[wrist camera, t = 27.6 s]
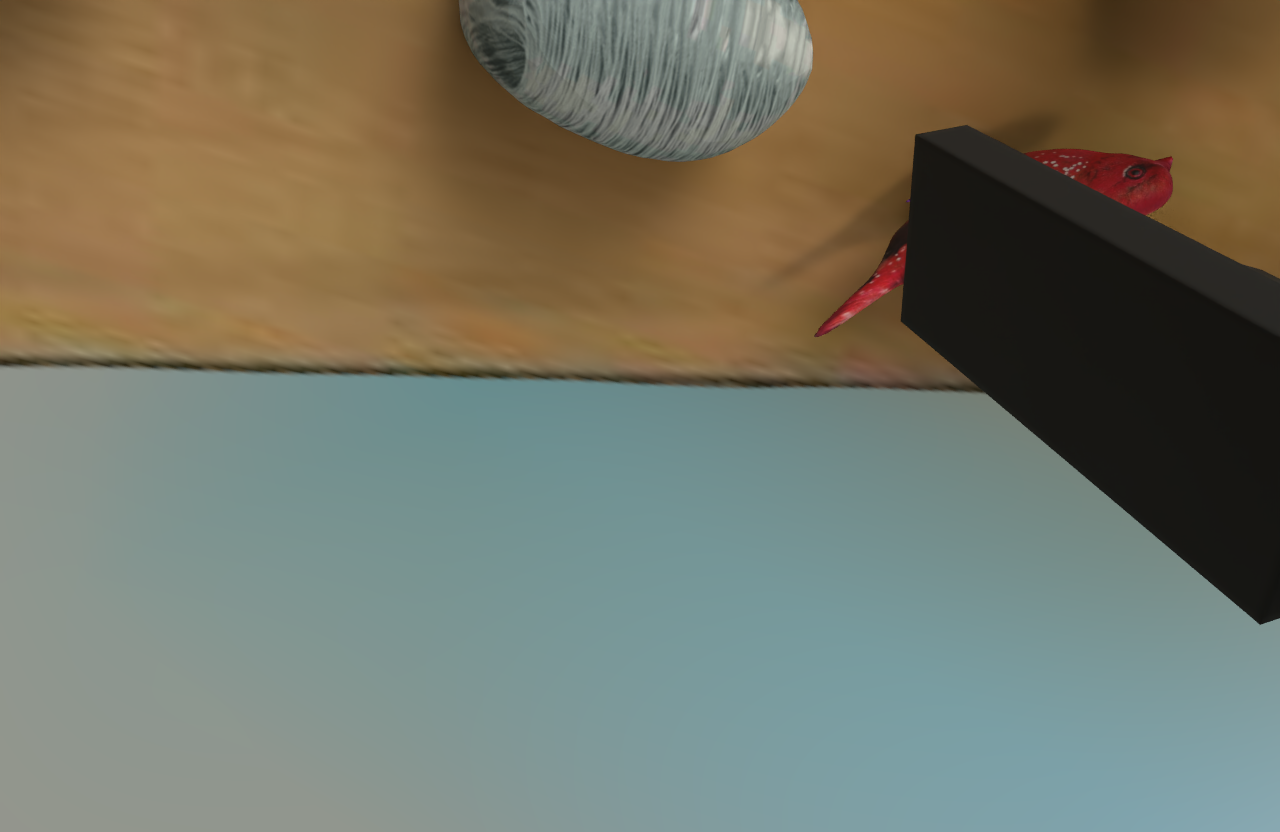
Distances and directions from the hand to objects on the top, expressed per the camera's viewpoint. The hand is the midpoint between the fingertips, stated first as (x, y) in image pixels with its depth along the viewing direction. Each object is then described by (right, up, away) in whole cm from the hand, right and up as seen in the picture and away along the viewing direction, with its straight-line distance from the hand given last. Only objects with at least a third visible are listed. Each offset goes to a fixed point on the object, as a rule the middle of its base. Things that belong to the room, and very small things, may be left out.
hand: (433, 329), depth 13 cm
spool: (+1, +16, +31) cm, 35 cm away
